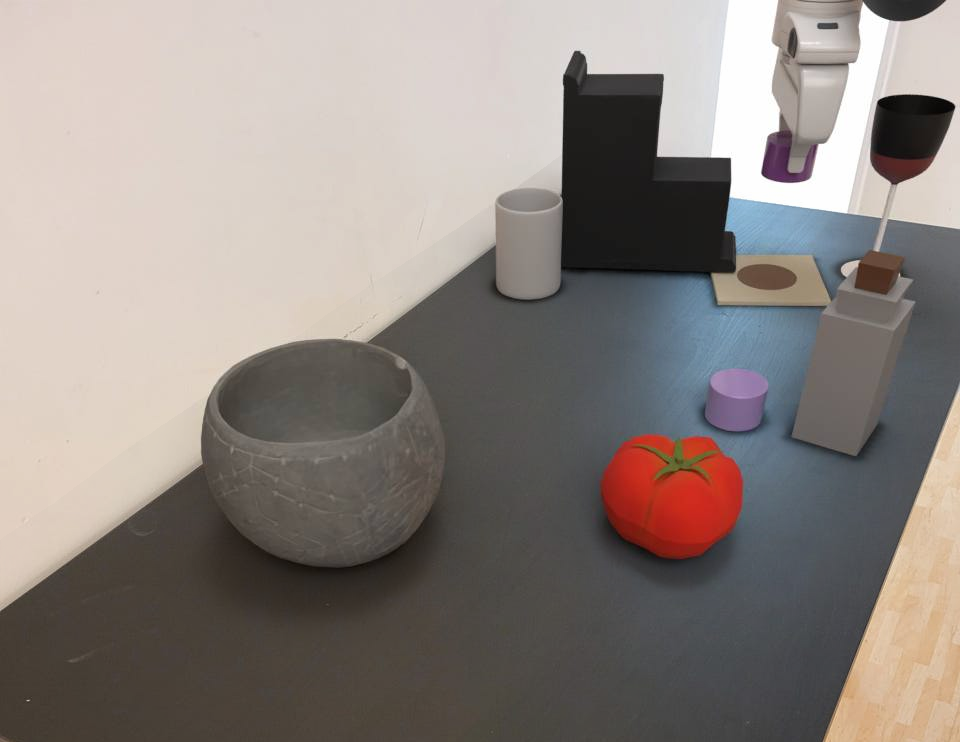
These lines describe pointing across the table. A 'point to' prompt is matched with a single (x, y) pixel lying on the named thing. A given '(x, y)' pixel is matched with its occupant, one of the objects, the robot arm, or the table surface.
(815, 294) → the placemat
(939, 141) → the wineglass
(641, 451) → the tomato
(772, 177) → the squat plum drum
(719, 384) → the lilac cylinder
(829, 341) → the perfume bottle
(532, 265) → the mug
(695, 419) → the table surface
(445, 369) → the table surface
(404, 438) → the bowl
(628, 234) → the bookend
